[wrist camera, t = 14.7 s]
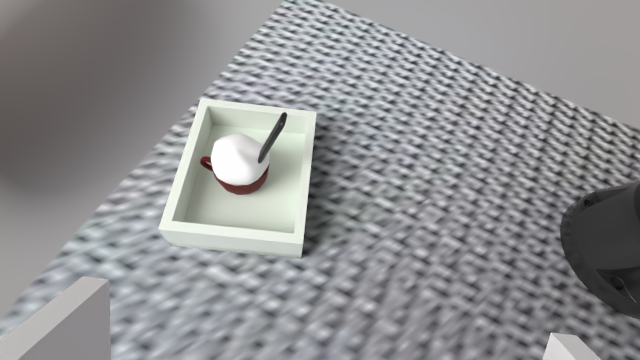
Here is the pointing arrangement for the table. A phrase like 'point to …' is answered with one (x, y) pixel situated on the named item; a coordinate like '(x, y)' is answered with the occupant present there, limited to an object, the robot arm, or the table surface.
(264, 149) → the cocoa
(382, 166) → the table surface
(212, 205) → the bin
